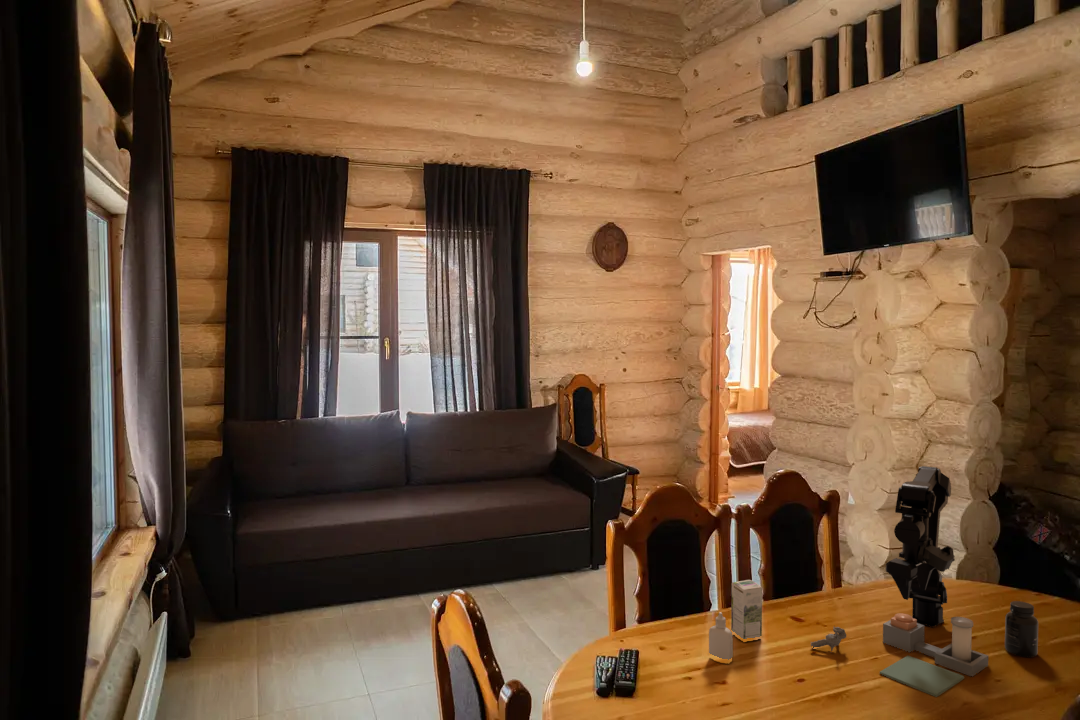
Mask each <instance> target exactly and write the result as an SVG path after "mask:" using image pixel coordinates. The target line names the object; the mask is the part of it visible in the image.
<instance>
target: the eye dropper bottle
mask: <svg viewBox="0 0 1080 720" xmlns="http://www.w3.org/2000/svg"><path fill="white" fill-rule="evenodd" d="M726 619H727V618H726V617H725V616H723V612H720V611H719V612H718V616H716V617H715V625H713V626H711V627H709V629H708V654H709V653H710V654H712V655H714V656H717V657H719V658H722V659H728V660H729V659H731V658H732V657H733V658H734V655H733V654H734V653H733V648H734V647H733V646H734V645H733V641H734V639H733V637H734V636H733V635H732V632H731V630H730V628H728V627H727V624H726V622H727V621H726Z"/></svg>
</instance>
